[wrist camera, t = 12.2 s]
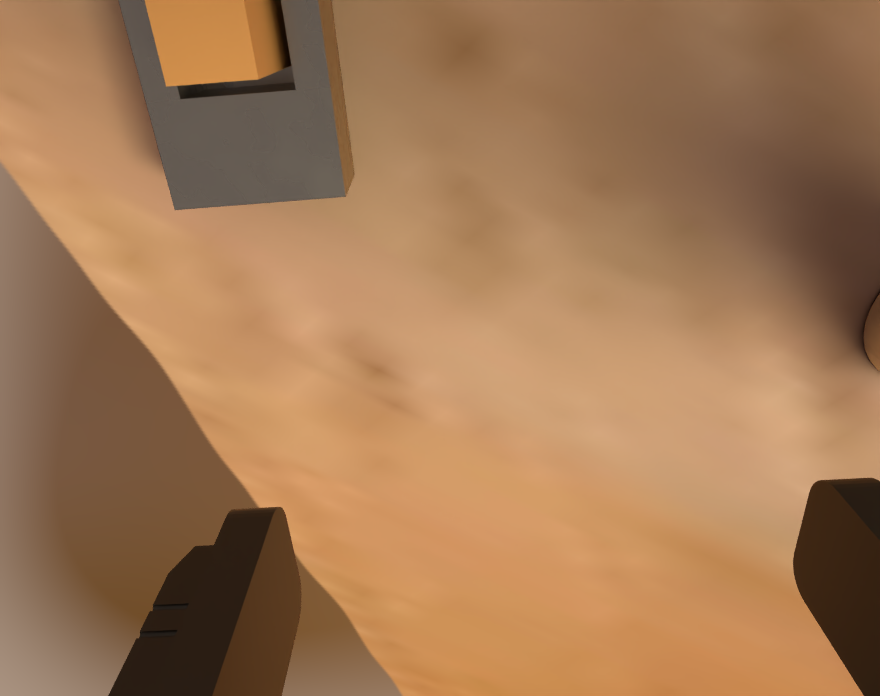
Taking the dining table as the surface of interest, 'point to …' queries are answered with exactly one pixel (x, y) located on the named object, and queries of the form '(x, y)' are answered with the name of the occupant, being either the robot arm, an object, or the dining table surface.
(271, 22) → the long orange brick
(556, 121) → the dining table surface
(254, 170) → the grey slotted block
